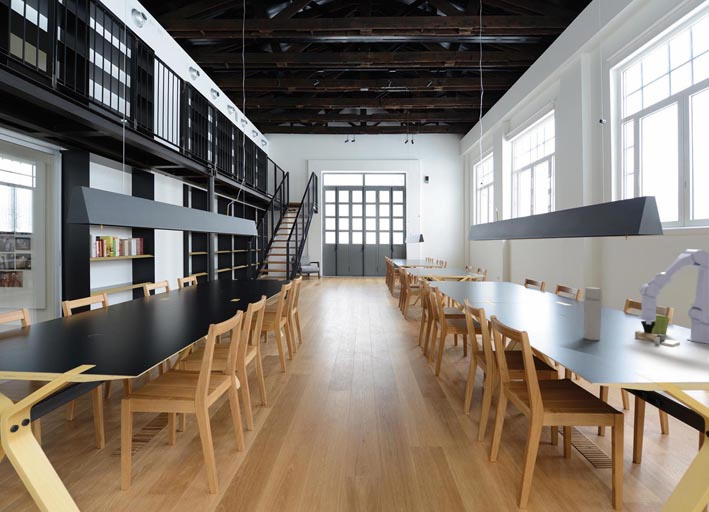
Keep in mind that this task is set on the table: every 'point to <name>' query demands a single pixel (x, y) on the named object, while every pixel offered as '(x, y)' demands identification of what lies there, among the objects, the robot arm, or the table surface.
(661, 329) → the plant pot
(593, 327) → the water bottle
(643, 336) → the oak arm
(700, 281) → the robot arm
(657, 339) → the stop post
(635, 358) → the table surface
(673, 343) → the mounting plate
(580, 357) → the table surface
